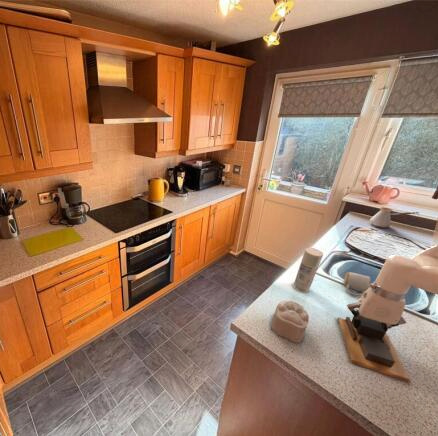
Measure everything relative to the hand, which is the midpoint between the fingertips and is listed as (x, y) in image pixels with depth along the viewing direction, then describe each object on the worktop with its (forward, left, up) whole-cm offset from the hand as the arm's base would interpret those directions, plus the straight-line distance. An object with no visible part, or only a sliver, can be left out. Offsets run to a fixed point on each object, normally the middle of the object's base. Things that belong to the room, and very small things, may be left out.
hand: (366, 328), depth 84 cm
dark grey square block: (0, 0, -1) cm, 1 cm away
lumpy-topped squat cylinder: (+25, +8, -3) cm, 27 cm away
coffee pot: (-44, -119, -3) cm, 127 cm away
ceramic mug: (-4, -28, -3) cm, 28 cm away
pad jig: (0, +5, -3) cm, 6 cm away
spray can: (+18, -19, -3) cm, 26 cm away
